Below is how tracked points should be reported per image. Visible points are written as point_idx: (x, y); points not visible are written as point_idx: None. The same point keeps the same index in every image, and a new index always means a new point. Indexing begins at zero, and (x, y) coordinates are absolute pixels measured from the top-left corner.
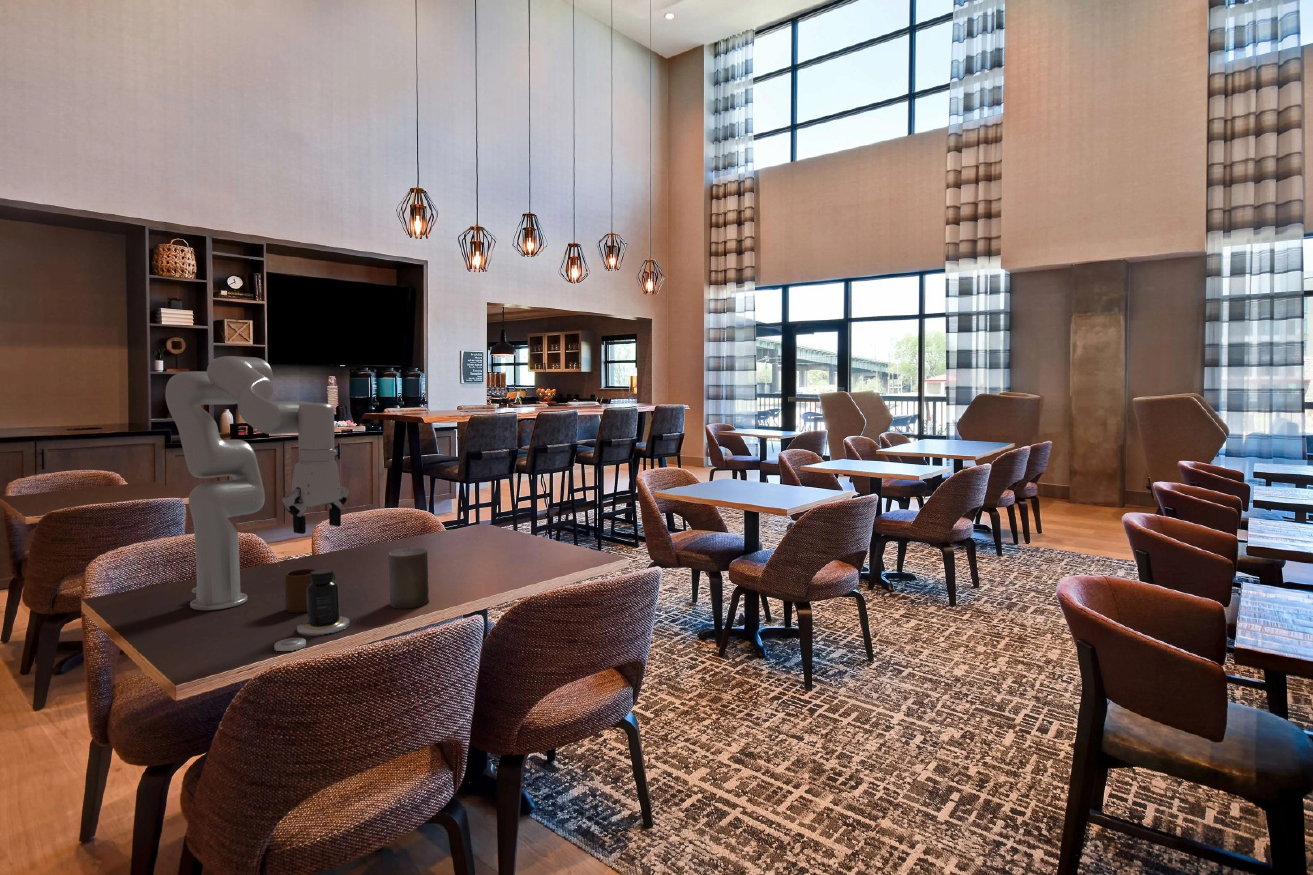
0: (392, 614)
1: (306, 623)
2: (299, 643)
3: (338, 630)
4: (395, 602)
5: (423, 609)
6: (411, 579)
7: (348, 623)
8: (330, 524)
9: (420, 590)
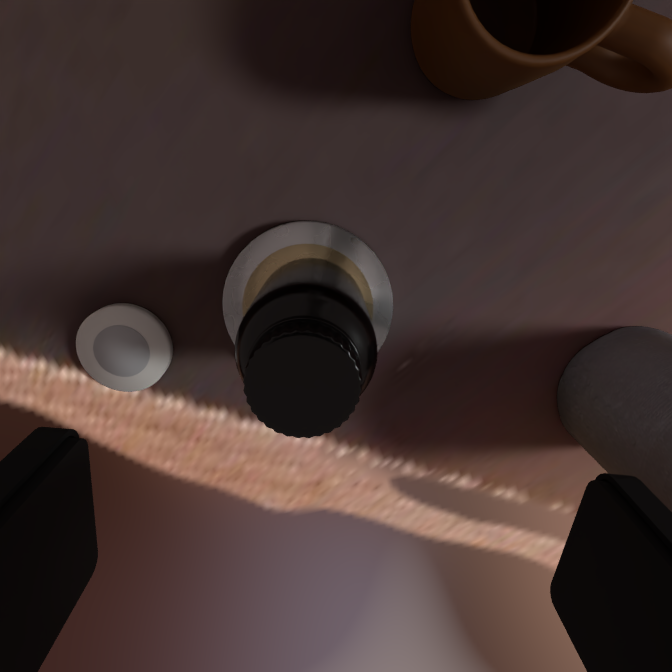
0: (495, 412)
1: (278, 258)
2: (131, 381)
3: None
4: (567, 392)
5: (565, 465)
6: None
7: None
8: (588, 497)
9: None
